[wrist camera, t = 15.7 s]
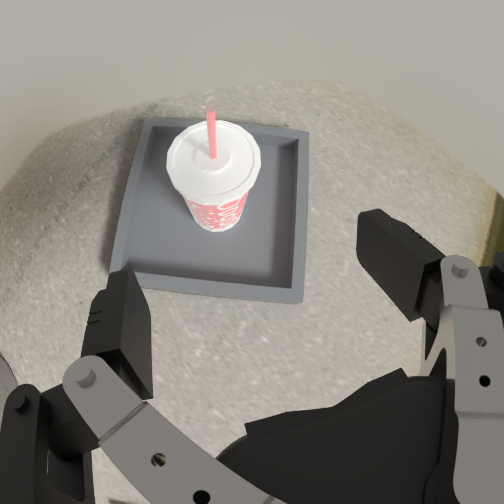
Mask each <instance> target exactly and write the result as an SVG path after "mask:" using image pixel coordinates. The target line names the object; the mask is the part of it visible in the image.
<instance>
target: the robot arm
mask: <svg viewBox="0 0 504 504" xmlns="http://www.w3.org/2000/svg"><path fill="white" fill-rule="evenodd" d="M356 253H357V257H358V260H359V262H360V264H361V266H362V267H363V268H364V269H365V270H366V271H367V272H368V273H369V275H370V276H371V277H372V278H373V279H374V280H375V281H376V283H377V284H378V285H379V286H380V287H381V288H382V289H383V291H384V292H385V293H386V294H387V295H388V296H389V298H390V299H391V300H392V301H393V302H394V303H395V305H396V306H397V307H398V308H399V309H400V311H401V312H402V313H403V314H404V315H405V317H406V318H407V319H408V320H409V321H410V322H411V321H414V320H416V319H418V318H420V317H423V318H424V323H423V327H422V351H421V367H420V373H419V376H411V377H407V375H406V374H405V372H404V371H403V369H402V368H399V369H397V370H395V371H393V372H391V373H388V374H386V375H384V376H382V377H379V378H377V379H375V380H372V381H370V382H368V383H366V384H365V385H364V386H362V387H361V388H360V389H358V390H357V391H355V392H354V393H353V394H351V395H350V396H348V397H347V398H346V399H344V400H343V401H341V402H340V403H338V404H337V405H335V406H333V407H328V408H320V409H312V410H302V411H291V412H285V413H281V414H278V415H275V416H271V417H268V418H264V419H260V420H257V421H253V422H249V423H245V424H244V425H245V428H246V432H247V435H245V436H243V437H241V438H239V439H238V440H236V441H235V442H233V443H232V444H230V445H229V446H228V447H227V448H225V449H224V450H223V451H222V452H221V453H220V454H219V455H218V456H217V457H216V458H214V457H212V456H211V455H210V454H208V453H207V452H206V451H205V450H203V449H202V448H201V447H199V446H198V445H197V444H196V443H194V442H193V441H192V440H191V439H189V438H188V437H187V436H186V435H185V434H183V433H182V432H181V431H180V430H179V429H177V428H176V427H175V426H174V425H173V424H172V423H170V422H169V421H168V420H167V419H166V418H165V417H164V416H163V415H161V414H160V413H159V412H158V411H157V410H156V409H155V408H154V407H153V406H152V405H150V404H149V403H148V402H147V401H145V402H144V401H142V400H147V399H153V382H152V354H151V315H150V310H149V307H148V304H147V301H146V299H145V297H144V294H143V292H142V290H141V287H140V285H139V283H138V280H137V278H136V275H135V273H134V271H133V269H132V268H127V269H123V270H119V271H115V272H111V273H110V274H109V278H108V282H107V287H106V289H104V290H100V291H99V292H98V294H97V295H96V296H95V298H94V299H93V301H92V303H91V307H90V312H89V314H90V315H89V316H88V321H87V324H88V325H87V326H86V330H85V335H84V341H83V346H82V351H81V357H80V358H79V359H77V360H76V361H74V362H73V363H72V364H71V365H70V366H69V367H68V368H67V370H66V372H65V374H64V376H63V383H62V384H60V385H58V386H56V387H53V388H51V389H49V390H47V391H45V392H43V393H41V392H40V391H39V390H38V389H37V388H36V387H35V386H33V385H31V384H23V385H20V386H18V387H17V383H16V381H15V378H14V376H13V374H12V372H11V370H10V368H9V366H8V365H7V364H6V362H5V361H4V360H3V359H2V358H1V357H0V504H95V496H94V485H93V473H92V456H91V451H92V450H94V449H96V448H99V447H101V449H102V450H103V451H104V452H105V454H106V455H107V456H108V457H109V459H110V460H111V461H112V462H113V463H114V465H115V466H116V467H117V468H118V469H119V470H120V472H121V473H122V474H123V475H124V476H125V477H126V478H127V479H128V481H129V482H130V483H131V484H132V485H133V486H134V487H135V488H136V489H137V490H138V491H139V492H140V493H141V494H142V495H143V496H144V497H145V498H146V499H147V500H148V501H149V502H150V503H151V504H504V252H498V253H496V254H495V256H494V258H493V261H492V265H491V266H485V267H478V266H477V265H476V264H475V263H474V262H473V261H471V260H470V259H468V258H466V257H463V256H458V255H450V256H447V257H446V256H445V255H444V254H443V253H442V252H440V251H439V250H438V249H437V248H436V247H434V246H433V245H432V244H431V243H430V242H428V241H427V240H426V239H425V238H422V236H421V235H420V234H418V233H417V232H415V230H413V229H412V228H411V227H410V226H408V225H407V224H406V223H403V222H401V221H398V220H396V219H394V218H392V217H390V216H389V215H388V214H386V213H385V212H384V211H382V210H381V209H374V210H369V211H365V212H361V213H360V214H359V216H358V224H357V245H356ZM47 465H48V473H47Z"/></svg>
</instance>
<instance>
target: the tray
mask: <svg viewBox="0 0 504 504" xmlns="http://www.w3.org/2000/svg"><path fill="white" fill-rule="evenodd" d="M203 121H207V120H197V119H177V118H145V121H144V124H143V127H142V131H141V134H140V137H139V141H138V144H137V148H136V151H135V155H134V158H133V162H132V166H131V169H130V173H129V177H128V181H127V185H126V189H125V193H124V198H123V202H122V206H121V211H120V216H119V220H118V225H117V230H116V235H115V241H114V246H113V252H112V257H111V263H110V270H109V274H110V273H111V272H115V271H119V270H123V269H127V268H132V269H133V271H134V273H135V275H136V278H137V280H138V283H139V285H140V287H141V288H147V289H154V290H162V291H170V292H178V293H187V294H195V295H204V296H213V297H223V298H232V299H242V300H253V301H264V302H275V303H287V304H299V303H302V302H303V293H304V277H305V260H306V239H307V214H308V177H309V132H305V131H299V130H292V129H286V128H278V127H271V126H263V125H254V124H245V123H235V122H230V123H233V124H236V125H239V126H240V127H242V128H243V129H244V130H246V131H247V132H248V133H250V134H251V135H252V136H253V138H254V140H255V141H256V143H257V145H258V147H259V149H260V158H261V167H260V170H259V173H258V175H257V178H256V180H255V183H254V185H253V186H252V187H251V188H250V189H249V192H248V195H247V198H246V202H245V205H244V208H243V211H242V214H241V216H240V219H239V221H238V222H237V223H236V224H235V225H234V226H233V227H232V228H229V229H227V230H225V231H220V232H212V231H209V230H206V229H203V228H202V227H201V226H200V225H199V224H198V223H197V222H196V221H195V219H194V217H193V215H192V213H191V211H190V209H189V207H188V205H187V203H186V201H185V199H184V197H183V195H182V194H181V193H180V192H179V191H177V190H176V189H175V188H174V185H173V183H172V181H171V179H170V176H169V174H168V171H167V168H166V165H167V152H168V150H169V148H170V146H171V145H172V143H173V141H174V139H175V138H176V137H177V136H178V135H179V134H180V133H182V132H183V131H184V130H185V129H187V128H188V127H190V126H192V125H195V124H198V123H201V122H203ZM108 278H109V276H108Z"/></svg>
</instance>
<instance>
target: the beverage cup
mask: <svg viewBox="0 0 504 504" xmlns="http://www.w3.org/2000/svg"><path fill="white" fill-rule="evenodd" d="M206 120H207V121H203V122H201V123H198V124H195V125H192V126H190V127H188V128H187V129H185V130H184V131H183V132H182V133H180V134H179V135H178V136H177V137H176V138H175V139H174V141H173V143H172V145H171V146H170V148H169V150H168V152H167V165H166V168H167V171H168V174H169V176H170V179H171V181H172V183H173V185H174V188H175V189H176V190H177V191H179V192H180V193H181V194H182V195H183V197H184V199H185V201H186V203H187V205H188V207H189V209H190V211H191V213H192V215H193V217H194V219H195V221H196V222H197V223H198V224H199V225H200V226H201V227H202V228H203V229H206V230H209V231H212V232H220V231H225V230H227V229H229V228H232V227H233V226H234V225H235V224H236V223H237V222H238V221H239V219H240V216H241V214H242V211H243V208H244V205H245V202H246V198H247V195H248V192H249V189H250V188H251V187H252V186H253V185H254V183H255V180H256V178H257V175H258V173H259V170H260V167H261V158H260V149H259V147H258V145H257V143H256V141H255V140H254V138H253V136H252V135H251V134H250V133H248V132H247V131H246V130H244V129H243V128H242V127H240V126H239V125H236V124H233V123H230V122H226V121H223V120H218V121H215V107H213V106H208V107H207V108H206Z"/></svg>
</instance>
